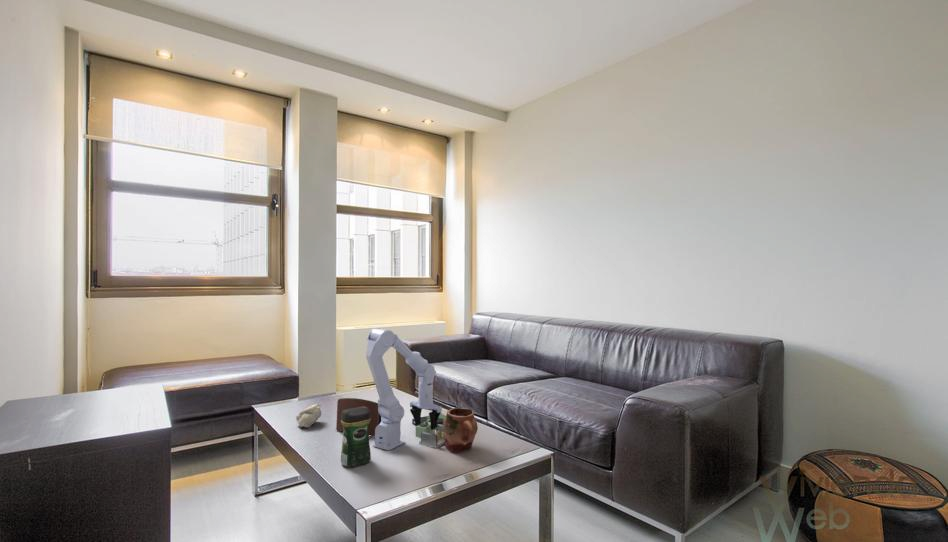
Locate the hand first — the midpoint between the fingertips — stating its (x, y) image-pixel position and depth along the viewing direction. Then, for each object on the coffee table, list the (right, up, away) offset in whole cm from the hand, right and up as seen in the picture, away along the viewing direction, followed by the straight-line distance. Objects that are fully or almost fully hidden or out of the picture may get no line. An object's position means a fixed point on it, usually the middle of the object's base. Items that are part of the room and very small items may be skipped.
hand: (425, 427), depth 177 cm
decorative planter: (+15, -3, -15) cm, 21 cm away
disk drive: (+2, -4, +13) cm, 13 cm away
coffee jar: (-21, -3, -27) cm, 34 cm away
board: (0, -3, 0) cm, 3 cm away
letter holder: (-26, -3, +5) cm, 27 cm away
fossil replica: (-51, -3, +10) cm, 52 cm away
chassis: (+5, -3, -7) cm, 9 cm away
